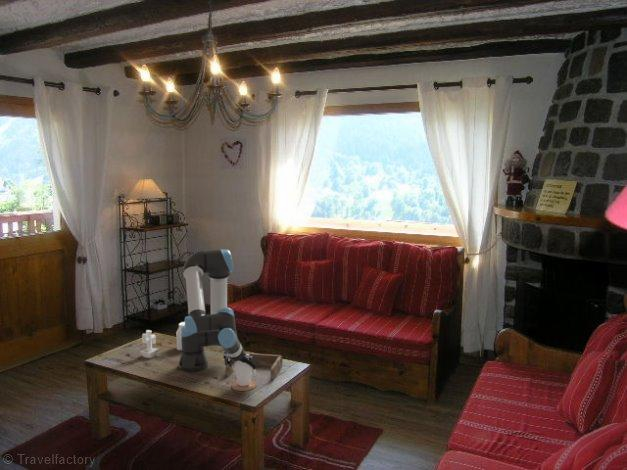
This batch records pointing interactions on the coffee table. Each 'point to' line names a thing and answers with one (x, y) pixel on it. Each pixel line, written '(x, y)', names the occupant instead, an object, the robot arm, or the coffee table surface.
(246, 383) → the foam cup
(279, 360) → the wooden tray
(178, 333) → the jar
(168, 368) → the coffee table surface
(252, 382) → the terracotta pad
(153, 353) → the figurine
